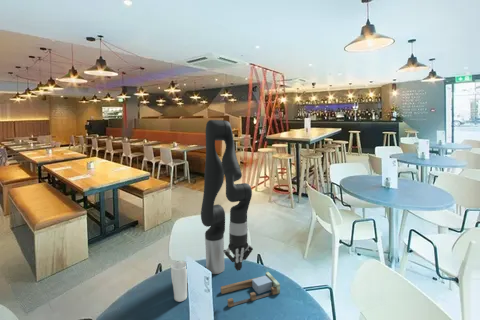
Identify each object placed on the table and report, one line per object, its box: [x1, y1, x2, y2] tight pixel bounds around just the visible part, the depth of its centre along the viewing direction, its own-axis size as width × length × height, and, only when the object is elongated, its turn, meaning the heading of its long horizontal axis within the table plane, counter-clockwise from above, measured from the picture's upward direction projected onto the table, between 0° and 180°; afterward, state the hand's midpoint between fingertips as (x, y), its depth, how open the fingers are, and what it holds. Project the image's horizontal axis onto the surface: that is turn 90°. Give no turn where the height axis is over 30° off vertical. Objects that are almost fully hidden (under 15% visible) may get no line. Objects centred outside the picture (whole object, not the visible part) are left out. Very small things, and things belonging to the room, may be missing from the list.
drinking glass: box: [170, 260, 188, 303], centre depth 112 cm, size 7×7×15 cm
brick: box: [251, 274, 272, 295], centre depth 118 cm, size 6×7×4 cm
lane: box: [220, 271, 281, 308], centre depth 115 cm, size 11×24×4 cm, turn 112°
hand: (238, 269), depth 112 cm, fingers closed
